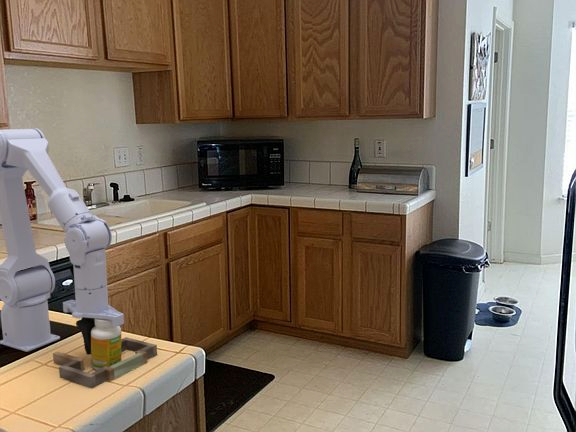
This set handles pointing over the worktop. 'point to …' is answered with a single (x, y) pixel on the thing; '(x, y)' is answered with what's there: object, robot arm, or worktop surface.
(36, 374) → the worktop surface
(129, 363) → the grey flat frame
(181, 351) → the worktop surface
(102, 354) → the supplement bottle
